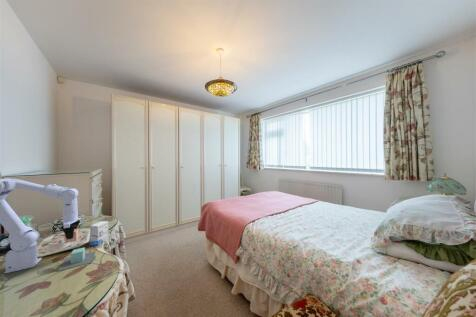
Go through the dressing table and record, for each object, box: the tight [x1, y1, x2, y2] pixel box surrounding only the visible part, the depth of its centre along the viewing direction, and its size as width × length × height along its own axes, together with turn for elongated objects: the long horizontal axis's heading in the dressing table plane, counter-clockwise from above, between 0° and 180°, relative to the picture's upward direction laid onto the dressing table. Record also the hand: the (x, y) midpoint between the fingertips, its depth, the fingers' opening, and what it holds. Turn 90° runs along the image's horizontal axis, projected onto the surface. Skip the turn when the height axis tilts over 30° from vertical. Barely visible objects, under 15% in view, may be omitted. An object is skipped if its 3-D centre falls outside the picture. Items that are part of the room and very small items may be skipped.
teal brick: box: [70, 246, 86, 264], centre depth 90 cm, size 4×4×5 cm
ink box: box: [89, 220, 109, 246], centre depth 110 cm, size 9×5×12 cm, turn 179°
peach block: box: [64, 228, 80, 244], centre depth 94 cm, size 4×4×5 cm
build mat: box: [57, 251, 96, 272], centre depth 90 cm, size 12×12×1 cm
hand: (71, 236), depth 94 cm, fingers closed on peach block, 4 cm apart
